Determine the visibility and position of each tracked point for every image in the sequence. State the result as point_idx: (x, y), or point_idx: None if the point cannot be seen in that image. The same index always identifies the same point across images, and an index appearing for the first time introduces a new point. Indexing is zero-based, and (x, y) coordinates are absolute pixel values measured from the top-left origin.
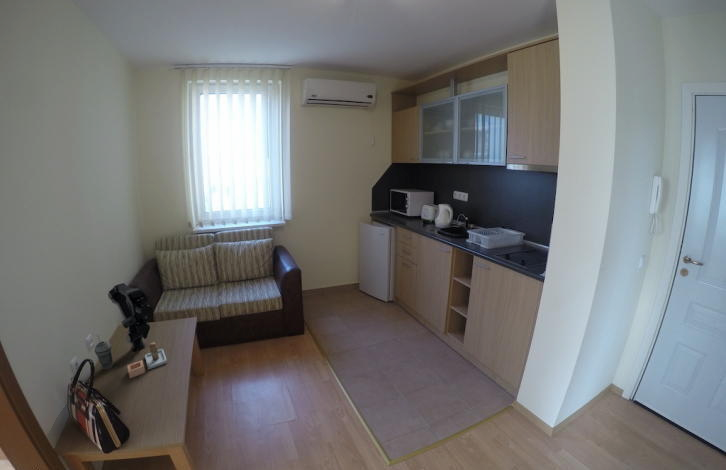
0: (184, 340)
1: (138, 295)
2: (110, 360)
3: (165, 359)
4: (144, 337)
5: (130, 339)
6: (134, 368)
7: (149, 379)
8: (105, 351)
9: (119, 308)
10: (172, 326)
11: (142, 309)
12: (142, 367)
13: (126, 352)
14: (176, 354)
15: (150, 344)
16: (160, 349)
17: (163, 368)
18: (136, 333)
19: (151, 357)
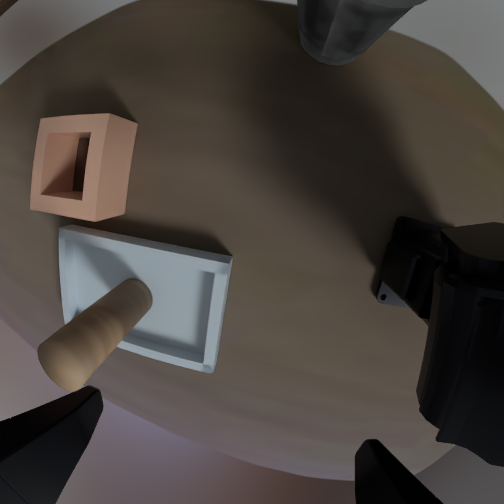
0: (237, 448)
1: None
2: (307, 24)
3: None
4: (69, 403)
5: (455, 247)
6: (44, 155)
7: (13, 206)
8: None
9: None
10: (430, 436)
11: None
12: (34, 199)
13: (427, 184)
14: (122, 378)
15: (57, 355)
16: (208, 361)
17: (44, 283)
18: (457, 353)
19: (176, 285)
